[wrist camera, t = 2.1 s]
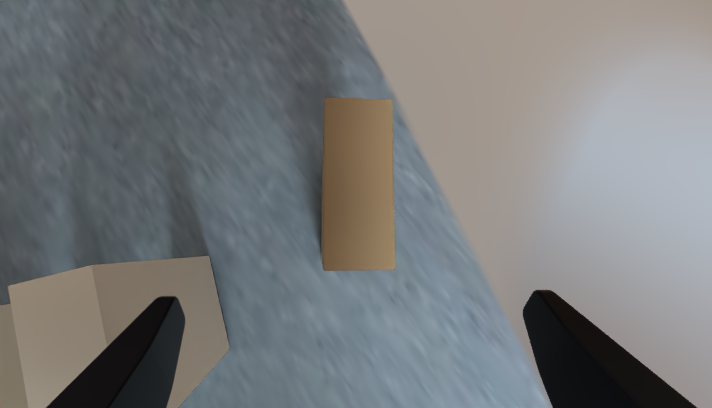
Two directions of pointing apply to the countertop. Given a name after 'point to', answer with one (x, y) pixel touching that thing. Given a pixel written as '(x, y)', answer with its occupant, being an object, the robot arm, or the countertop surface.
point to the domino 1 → (10, 363)
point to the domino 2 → (112, 320)
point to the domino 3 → (358, 185)
